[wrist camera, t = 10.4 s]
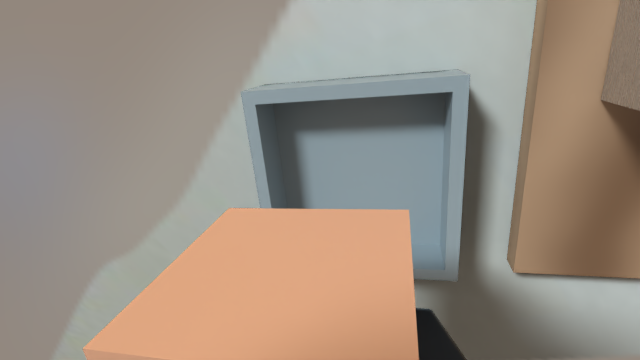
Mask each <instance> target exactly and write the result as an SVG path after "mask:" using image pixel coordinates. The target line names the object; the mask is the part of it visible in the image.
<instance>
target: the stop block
mask: <svg viewBox="0 0 640 360" xmlns="http://www.w3.org/2000/svg"><path fill="white" fill-rule="evenodd" d="M83 351H84V353H85V356H86V358H87V360H419V353H418V338H417V323H416V308H415V293H414V278H413V263H412V247H411V232H410V217H409V210H388V209H273V208H229V209H228V210H227V211H226V212H224V213H223V214H222V215H221V216H220V217H219V218H218V219H217V220H216V221H215V222H214V223H213V224H212V225H211V226H210V227H209V228H208V229H207V230H206V231H205V232H204V233H203V234H202V235H201V236H199V237H198V238H197V239H196V240H195V241H194V242H193V243H192V244H191V245H190V246H189V247H188V248H187V249H186V250H185V251H184V252H183V253H182V254H181V255H180V256H179V257H178V258H177V259H175V260H174V261H173V262H172V263H171V264H170V265H169V266H168V267H167V268H166V269H165V270H164V271H163V272H162V273H161V274H160V275H159V276H158V277H157V278H156V279H155V280H154V281H153V282H152V283H150V284H149V285H148V286H147V287H146V288H145V289H144V290H143V291H142V292H141V293H140V294H139V295H138V296H137V297H136V298H135V299H134V300H133V301H132V302H131V303H130V304H129V305H128V306H126V307H125V308H124V309H123V310H122V311H121V312H120V313H119V314H118V315H117V316H116V317H115V318H114V319H113V320H112V321H111V322H110V323H109V324H108V325H107V326H106V327H105V328H104V329H103V330H101V331H100V332H99V333H98V334H97V335H96V336H95V337H94V338H93V339H92V340H91V341H90V342H89V343H88V344H87V345H86V346H85V347H84V348H83Z"/></svg>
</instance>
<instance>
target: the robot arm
mask: <svg viewBox="0 0 640 360" xmlns="http://www.w3.org/2000/svg"><path fill="white" fill-rule="evenodd" d="M416 323H417V338H418V353H419V360H466V358H465V357H464V355H463V354H462V353H461V351H460V350H459V348H458V347H457V345H456V344H455V343H454V341H453V340H452V338H451V337H450V335H449V334H448V333H447V331H446V330H445V328H444V327H443V325H442V324H441V323H440V321H439V320H438V318H437V317H436V315H435V314H434V313H433V311H432V310H430V309H421V308H416Z"/></svg>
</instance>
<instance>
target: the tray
mask: <svg viewBox="0 0 640 360" xmlns="http://www.w3.org/2000/svg"><path fill="white" fill-rule="evenodd" d="M469 84H470V75H469V74H467V73H465V72H462V71H460V70H446V71H433V72H420V73H408V74H395V75H382V76H369V77H357V78H344V79H331V80H318V81H306V82H293V83H280V84H268V85H262V86H259V87H255V88H252V89H249V90H245V91H242V92H241V97H242V103H243V109H244V115H245V121H246V126H247V132H248V138H249V144H250V150H251V156H252V162H253V168H254V174H255V180H256V186H257V192H258V198H259V203H260V208H273V209H388V210H409V217H410V232H411V247H412V263H413V278H414V279H423V280H442V281H458V269H459V252H460V235H461V218H462V201H463V185H464V168H465V151H466V134H467V118H468V101H469Z"/></svg>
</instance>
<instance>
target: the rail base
mask: <svg viewBox="0 0 640 360" xmlns="http://www.w3.org/2000/svg"><path fill="white" fill-rule="evenodd" d="M619 3H620V0H537V6H536V15H535V23H534V32H533V40H532V49H531V57H530V66H529V74H528V83H527V92H526V100H525V109H524V117H523V126H522V134H521V143H520V151H519V160H518V168H517V177H516V186H515V194H514V203H513V211H512V220H511V228H510V237H509V245H508V254H507V260H508V262H509V264H510V266H511V268H512V270H513V272H515V273H536V274H557V275H578V276H599V277H620V278H640V111H639V110H635V109H632V108H628V107H624V106H621V105H617V104H613V103H610V102H606V101H603V100H601V96H602V91H603V86H604V81H605V76H606V70H607V65H608V60H609V55H610V50H611V45H612V39H613V34H614V29H615V24H616V19H617V13H618V8H619Z"/></svg>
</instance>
